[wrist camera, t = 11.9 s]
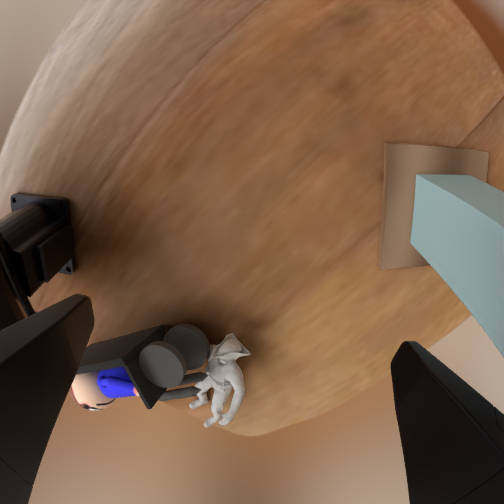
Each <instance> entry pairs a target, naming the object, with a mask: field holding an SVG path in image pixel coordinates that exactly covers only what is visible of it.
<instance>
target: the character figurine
mask: <svg viewBox="0 0 504 504" xmlns="http://www.w3.org/2000/svg"><path fill="white" fill-rule="evenodd" d="M209 352H210V345H209V341H208V339H207V337H206V335H205V334H204V333H203V332H202V331H201V330H200V329H199V328H197V327H195V326H193V325H190V324H178V325H176V326H174V327H173V328H171V329H170V330H169V331H168V332H166V331H165V329H164V327H163V325H160V326H157V327H153V328H150V329H146V330H143V331H139V332H136V333H132V334H129V335H125V336H121V337H118V338H114V339H110V340H106V341H103V342H99V343H95V344H91V345H89V346H88V347H86V349H85V352H84V355H83V358H82V361H81V364H80V366H79V369H78V372H77V374H76V376H75V378H74V381H73V383H72V385H71V387H70V389H69V393H70V395H71V396H72V398H73V399H74V401H75V402H76V403H77V404H79V405H80V406H82V407H83V408H86V409H89V410H102V409H105V408H106V407H108V406H110V405H111V404H112V403H113V402H114V400H115V399H116V398H119V397H127V396H136V395H137V396H139V397H141V398H142V400H143V402H144V404H145V405H146V407H147V409H151V408H152V407H153V406H154V404H155V403H156V402H157V401H158V399H159V400H160V401H166V400H173V399H180V398H186V397H192V396H196V395H197V394H198V393H199V392H200V391H201V390H202V389H199V388H197V387H194V386H191V387H186V388H181V389H175V390H168V391H166V389H167V388H171V387H175V386H179V385H184V384H190V383H195V382H200V381H203V380H204V379H205V378H206V377H207V376H208V375H207V374H204V373H202V372H198V373H193V374H188V375H185V374H186V371H187V370H192V369H196V368H199V367H200V366H201V365H203V363H204V362H205V361H206V359H207V357H208V356H209Z"/></svg>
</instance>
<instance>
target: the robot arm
mask: <svg viewBox="0 0 504 504" xmlns="http://www.w3.org/2000/svg"><path fill="white" fill-rule="evenodd" d="M15 199H16V200H15ZM62 203H63V205H64V207H63V206H62ZM11 208H12V212H11V213H9V214H8V215H6V216H5V217H3V218H1V219H0V504H28V502H29V498H30V495H31V491H32V488H33V486H32V485H33V484H34V481H35V478H36V475H37V472H38V469H39V466H40V463H41V460H42V457H43V454H44V452H45V449H46V446H47V443H48V441H49V438H50V435H51V433H52V430H53V428H54V425H55V423H56V420H57V418H58V415H59V413H60V410H61V408H62V406H63V403H64V401H65V399H66V396H67V394H68V392H69V389H70V387H71V385H72V383H73V381H74V378H75V376H76V374H77V372H78V369H79V366H80V364H81V361H82V358H83V355H84V352H85V349H86V346H87V344H88V341H89V338H90V335H91V333H92V330H93V327H94V315H93V309H92V303H91V299H90V298H89V297H88V296H85V295H81V294H75V295H73V296H70V297H68V298H66V299H64V300H62V301H60V302H58V303H56V304H54V305H52V306H50V307H48V308H45V309H43V310H41V311H39V312H35V311H34V309H33V307H32V305H31V303H30V301H29V299H28V297H31V296H32V295H33V294H34V293H35V292H36V291H37V290H38V289H39V287H40V286H41V285H42V284H43V283H44V282H46V283H47V282H49V281H50V280H51V279H52V278H53V277H54V276H55V274H56V273H57V272H60V273H65V274H69V275H71V274H73V273H74V272H75V261H74V250H73V241H72V230H71V225H70V212H69V202H68V200H67V199H65V198H60V197H51V196H41V195H31V194H21V193H15V194H13V195H12V196H11ZM69 268H70V269H69ZM27 296H28V297H27ZM391 375H392V382H393V392H394V402H395V410H396V415H397V421H398V426H399V432H400V437H401V443H402V449H403V455H404V462H405V469H406V475H407V483H408V492H409V501H410V504H504V414H503V413H501V412H500V411H499V410H498V409H497V408H496V407H493V405H492V404H491V403H490V402H489V401H487V400H486V399H485V398H484V397H483V396H481V395H480V394H479V393H478V392H477V391H475V390H474V389H473V388H472V387H471V386H469V385H468V384H467V383H466V382H465V381H464V380H462V379H461V378H460V377H459V376H458V375H456V374H455V373H454V372H453V371H452V370H450V369H449V368H448V367H447V366H446V365H444V364H443V363H442V362H441V361H439V360H438V359H437V358H436V357H435V356H433V355H432V354H431V353H430V352H428V351H427V350H426V349H425V348H423V347H422V346H421V345H420V344H418V343H417V342H415V341H404V342H403V343H402V344H401V345H400V347H399V349H398V351H397V352H396V354H395V356H394V357H393V359H392V362H391Z"/></svg>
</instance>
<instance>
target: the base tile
mask: <svg viewBox="0 0 504 504" xmlns="http://www.w3.org/2000/svg"><path fill="white" fill-rule="evenodd" d="M488 159H489V152H486V151H483V150H475V149H467V148H458V147H448V146H437V145H425V144H409V143H387V142H384V184H383V205H382V220H381V233H380V243H379V253H378V262H377V265H378V267H379V269H380V270H383V269H394V268H405V267H415V266H425V265H430V264H429V263H428V262H427V261H426V259H425V258H424V257H423V256H422V255H421V254H420V253H419V252H418V251H417V250H416V249H415V248H414V247H413V246H412V244H411V243H410V239H411V231H412V222H413V212H414V200H415V186H416V174H441V175H471V176H473V177H475V178H477V179H479V180H481V181H483V182H485V183H486V182H487V171H488Z"/></svg>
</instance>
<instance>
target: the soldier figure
mask: <svg viewBox="0 0 504 504" xmlns="http://www.w3.org/2000/svg"><path fill="white" fill-rule="evenodd" d="M247 355H251V354H250V352H249V351H248V350H247V349H245V348H244V346H243V345H242V344H241V343H240V342H239V341H238V340H237V338H236V337H235V335H234V334H233V333H231V334H227V335H226V336H225V339H224V341H223V342H222V343H220V344H219V345H210V352H209V359H208V361H209V363H208V365H207V367H206V374H207V375H208V376H207V377H206V378H205V379H204V380H203V381H200V382H198V383H197V384H195V387H197V388H199V389H202V390H201V391H200V392H199V393H198V394H197V396H198V397H199V399H198V400H194V401H193V402H191V403H190V405H189V406H190V408H192V409H194V408H198V407H199V406H200V405H203V404H207V403H208V402H209V400H208V398H207V393H206V391H208V390H209V388H211V387H213V388H214V389H215V390H214V395H213V399H212V405H211V411H212V413H213V414H214V416H212V417H210V418H208V419H207V420H206V421H205V422H204V426H205V427H210V426H212V425H213V424H214V423H215V422H217V421H219V420H221V419H222V416H224V417H223V419H222V420H221V421H220V422H219V423H221V424H220V425H225V424H228V423H229V422H231V420H232V418H233V417H234V415H235V413H237V411H238V409H239V406H240V404H241V402H242V400H243V397H244V394H245V388H244V380H243V374H242V370H241V369H240V367H239V365H238V364H237V363H236V359H237V358H239V357H241V356H247ZM232 388H234V390H235V392H234V395H233V399H232V402H231V406H230V410H229V412H227V413H224V414H222V410H223V408H224V407H223V406H224V404H225V403H226V401H227V399H228V397H229V395H230V393H231V390H232ZM221 414H222V415H221ZM223 421H224V422H223ZM222 422H223V423H222Z"/></svg>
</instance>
